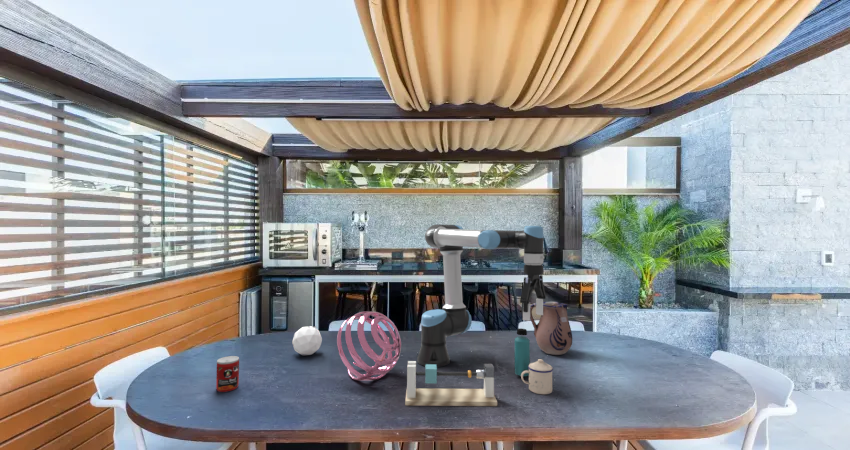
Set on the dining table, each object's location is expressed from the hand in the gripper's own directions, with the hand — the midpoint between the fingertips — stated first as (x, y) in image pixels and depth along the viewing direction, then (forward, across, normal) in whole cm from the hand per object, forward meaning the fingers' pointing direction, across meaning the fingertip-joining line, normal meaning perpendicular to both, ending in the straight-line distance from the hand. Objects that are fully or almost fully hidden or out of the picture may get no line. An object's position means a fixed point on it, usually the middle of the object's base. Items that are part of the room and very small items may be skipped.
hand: (533, 317), depth 151 cm
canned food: (+28, -77, +90) cm, 122 cm away
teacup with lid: (+27, -4, -3) cm, 27 cm away
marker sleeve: (+20, -36, +24) cm, 48 cm away
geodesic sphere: (+28, -33, +102) cm, 111 cm away
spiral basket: (+27, -35, +56) cm, 72 cm away
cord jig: (+27, -32, +18) cm, 45 cm away
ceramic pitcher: (+27, +46, +9) cm, 54 cm away
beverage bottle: (+27, +5, +7) cm, 28 cm away
